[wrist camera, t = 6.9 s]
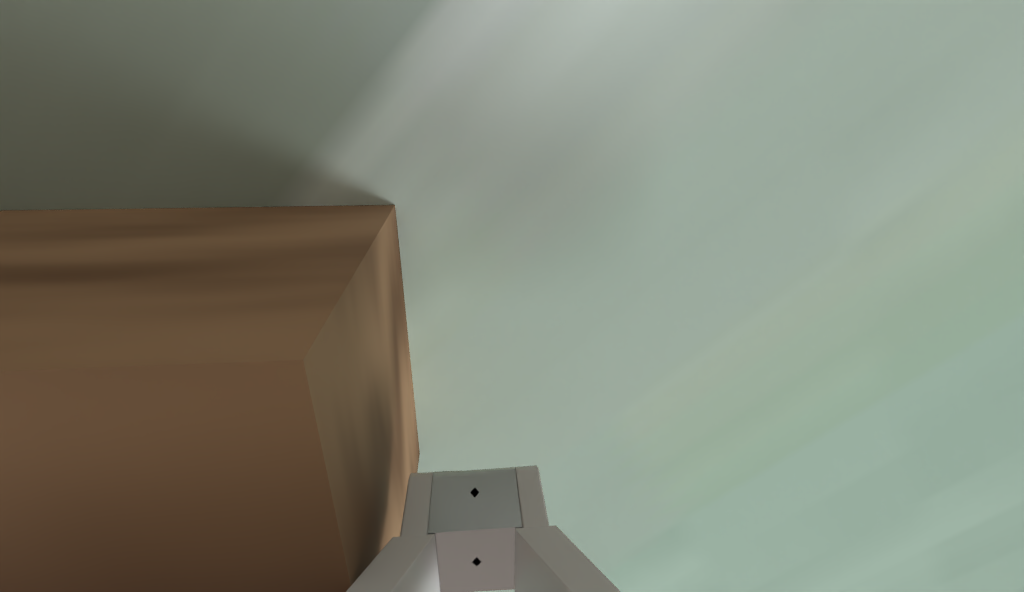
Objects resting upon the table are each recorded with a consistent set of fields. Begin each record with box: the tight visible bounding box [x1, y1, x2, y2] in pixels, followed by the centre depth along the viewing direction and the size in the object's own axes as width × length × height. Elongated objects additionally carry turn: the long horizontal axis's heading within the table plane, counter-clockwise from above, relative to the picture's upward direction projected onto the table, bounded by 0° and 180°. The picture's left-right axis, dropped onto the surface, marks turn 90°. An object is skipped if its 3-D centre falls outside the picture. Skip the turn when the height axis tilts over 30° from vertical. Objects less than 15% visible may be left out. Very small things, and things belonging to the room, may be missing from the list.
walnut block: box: [0, 205, 420, 592], centre depth 11 cm, size 9×16×8 cm, turn 90°
